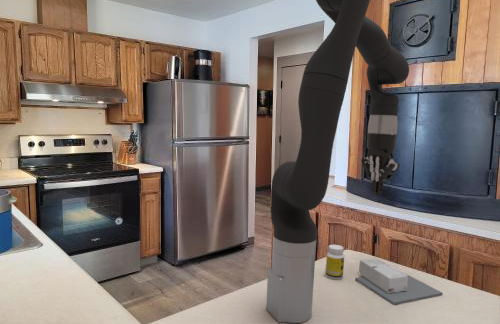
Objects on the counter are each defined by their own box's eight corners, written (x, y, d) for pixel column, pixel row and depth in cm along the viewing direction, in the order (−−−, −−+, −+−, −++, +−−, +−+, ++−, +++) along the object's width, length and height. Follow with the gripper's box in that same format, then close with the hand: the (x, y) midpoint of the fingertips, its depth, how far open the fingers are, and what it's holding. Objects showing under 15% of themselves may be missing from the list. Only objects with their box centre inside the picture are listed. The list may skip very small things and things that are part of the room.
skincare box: (376, 257, 102) (409, 273, 91) (375, 272, 102) (408, 290, 91) (358, 259, 100) (389, 276, 89) (357, 275, 100) (388, 294, 89)
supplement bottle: (343, 281, 97) (345, 250, 96) (325, 278, 98) (327, 248, 97) (342, 273, 102) (344, 244, 101) (325, 271, 103) (327, 243, 102)
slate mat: (394, 305, 85) (394, 302, 85) (355, 280, 98) (355, 278, 98) (442, 295, 91) (442, 292, 91) (399, 272, 104) (400, 270, 104)
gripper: (355, 130, 104) (350, 190, 106) (389, 132, 92) (383, 199, 94) (375, 131, 107) (370, 189, 109) (411, 133, 95) (405, 198, 97)
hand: (376, 194), depth 101 cm, fingers closed
